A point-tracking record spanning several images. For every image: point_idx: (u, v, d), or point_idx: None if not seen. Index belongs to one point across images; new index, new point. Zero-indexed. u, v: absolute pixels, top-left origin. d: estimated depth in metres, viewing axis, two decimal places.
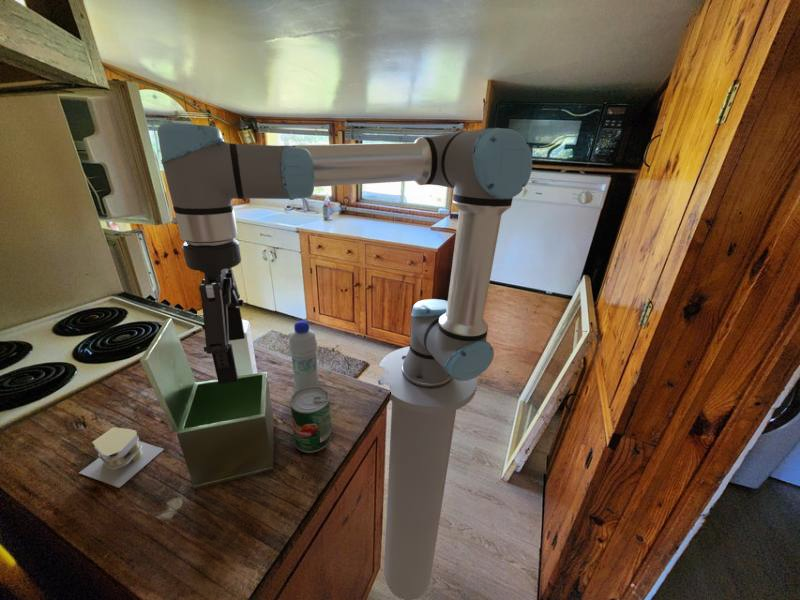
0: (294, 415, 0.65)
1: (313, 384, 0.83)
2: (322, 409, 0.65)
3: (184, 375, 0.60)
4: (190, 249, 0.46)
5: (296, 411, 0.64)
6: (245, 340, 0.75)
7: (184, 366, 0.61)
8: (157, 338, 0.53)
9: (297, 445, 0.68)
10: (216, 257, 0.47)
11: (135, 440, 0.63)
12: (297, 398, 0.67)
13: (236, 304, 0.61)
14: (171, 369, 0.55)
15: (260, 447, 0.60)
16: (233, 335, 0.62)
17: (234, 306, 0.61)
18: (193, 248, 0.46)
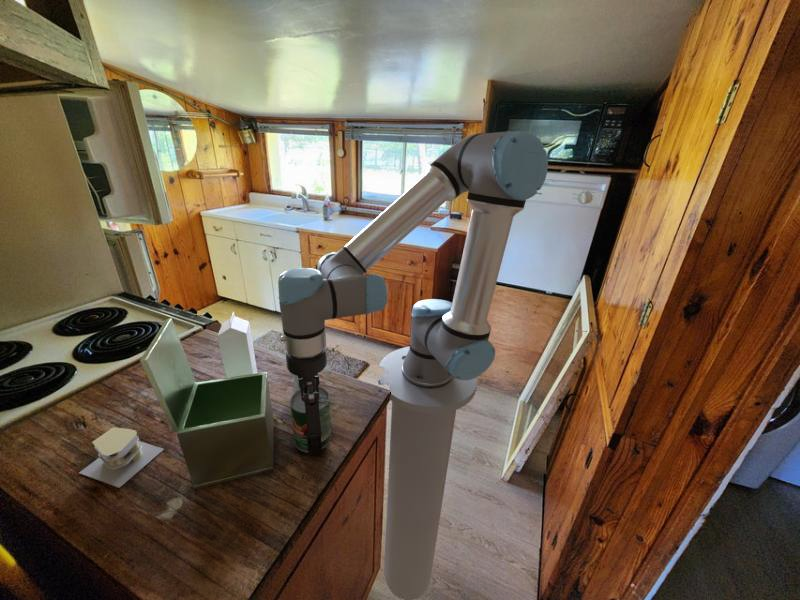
0: (294, 415, 0.65)
1: None
2: (322, 409, 0.65)
3: (184, 375, 0.60)
4: (295, 361, 0.59)
5: (296, 411, 0.64)
6: (245, 340, 0.75)
7: (184, 366, 0.61)
8: (157, 338, 0.53)
9: (297, 445, 0.68)
10: (313, 366, 0.60)
11: (135, 440, 0.63)
12: (297, 398, 0.67)
13: None
14: (171, 369, 0.55)
15: (260, 447, 0.60)
16: None
17: None
18: (297, 361, 0.59)
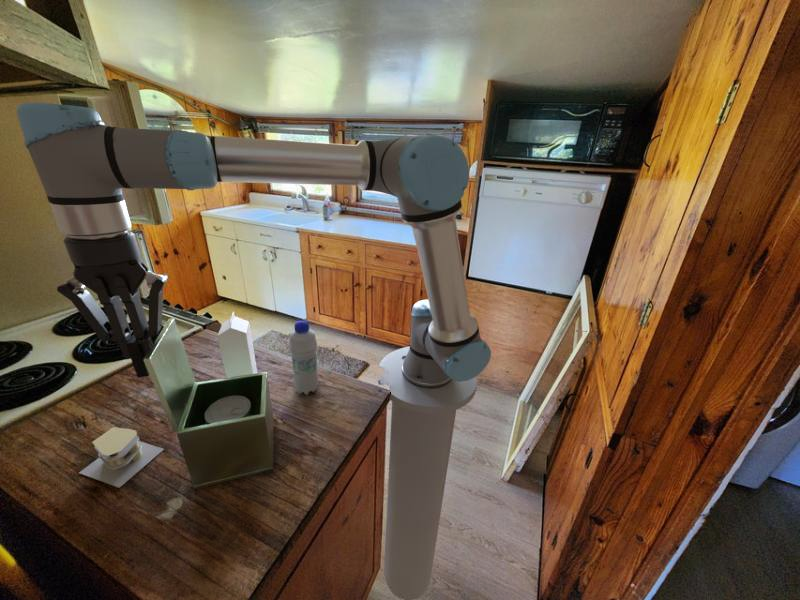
0: None
1: (313, 384, 0.83)
2: None
3: (185, 375, 0.60)
4: None
5: (207, 422, 0.59)
6: (245, 340, 0.75)
7: (185, 366, 0.61)
8: (160, 338, 0.53)
9: None
10: None
11: (135, 440, 0.63)
12: (215, 408, 0.62)
13: None
14: (173, 369, 0.55)
15: (260, 447, 0.60)
16: None
17: None
18: None
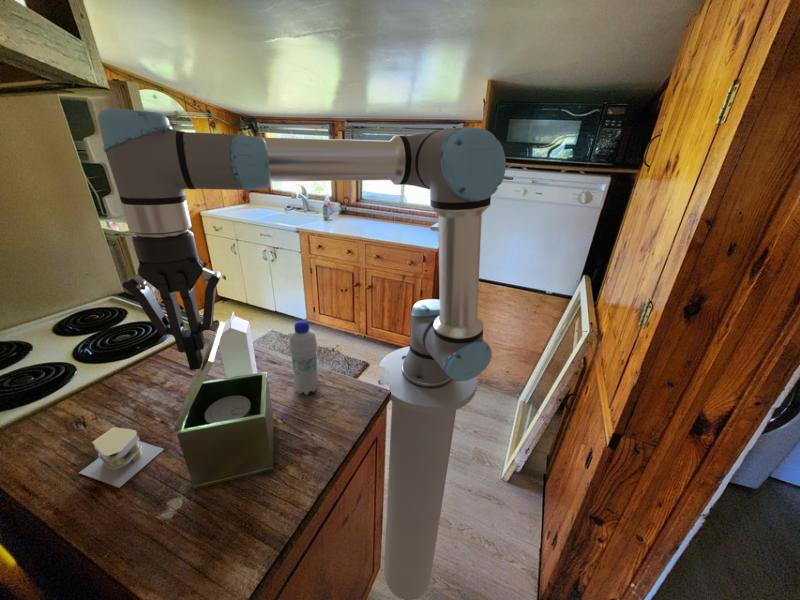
0: None
1: (313, 384, 0.83)
2: None
3: None
4: None
5: (207, 422, 0.59)
6: (245, 340, 0.75)
7: None
8: (217, 341, 0.56)
9: None
10: (134, 246, 0.46)
11: (135, 440, 0.63)
12: (215, 408, 0.62)
13: None
14: None
15: (260, 447, 0.60)
16: None
17: None
18: None
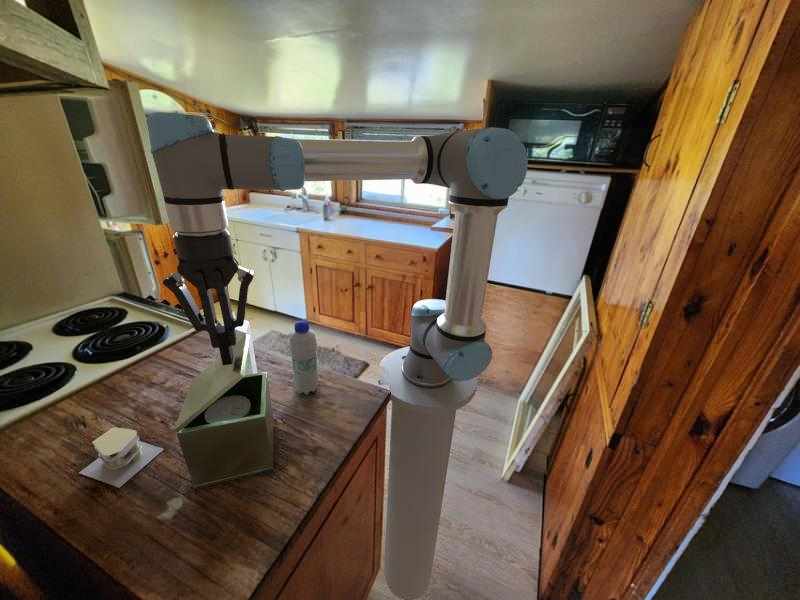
0: None
1: (313, 384, 0.83)
2: None
3: None
4: None
5: (207, 422, 0.59)
6: None
7: None
8: (246, 355, 0.59)
9: None
10: None
11: (135, 440, 0.63)
12: (215, 408, 0.62)
13: None
14: None
15: (260, 447, 0.60)
16: None
17: (224, 326, 0.55)
18: None
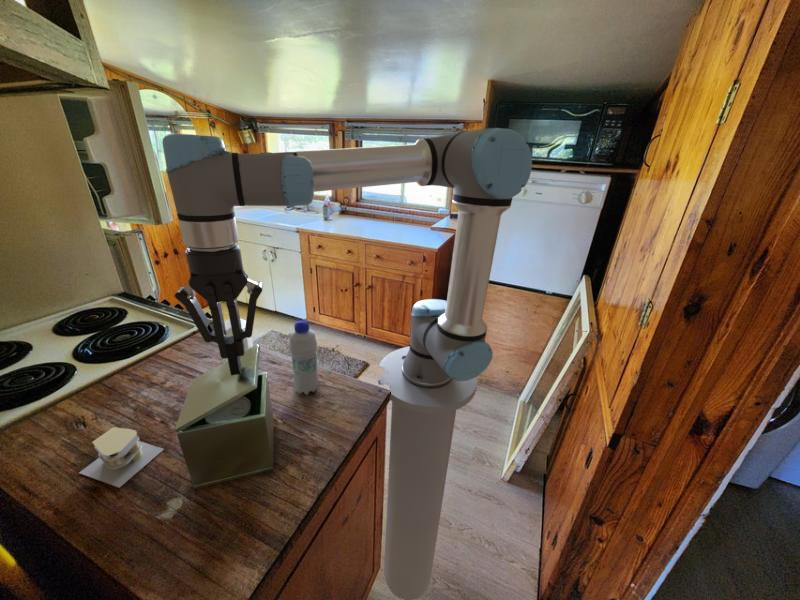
0: None
1: (313, 384, 0.83)
2: None
3: None
4: None
5: (207, 422, 0.59)
6: (245, 340, 0.75)
7: None
8: (257, 366, 0.60)
9: None
10: (187, 259, 0.49)
11: (135, 440, 0.63)
12: None
13: None
14: None
15: (260, 447, 0.60)
16: None
17: (233, 337, 0.57)
18: None
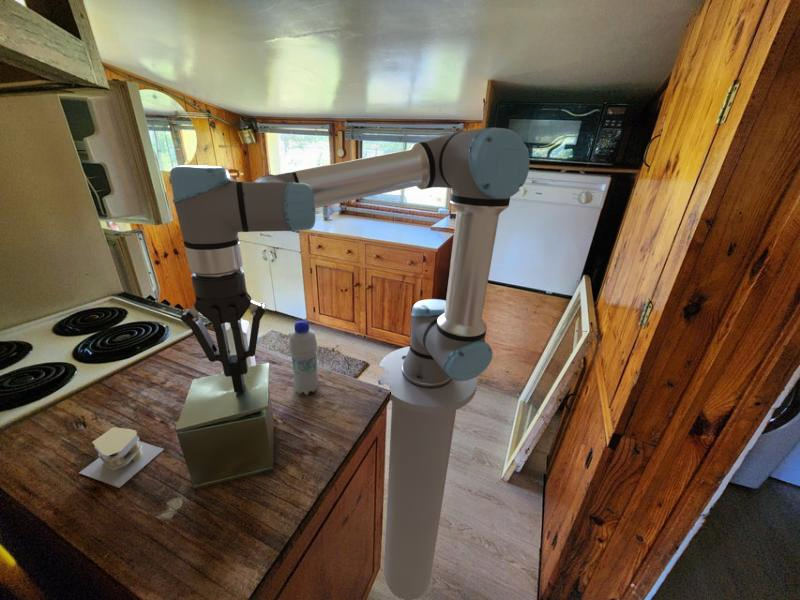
0: None
1: (313, 384, 0.83)
2: None
3: None
4: None
5: None
6: (245, 340, 0.75)
7: None
8: (268, 386, 0.63)
9: None
10: None
11: (135, 440, 0.63)
12: None
13: None
14: None
15: (260, 447, 0.60)
16: None
17: (236, 356, 0.58)
18: None
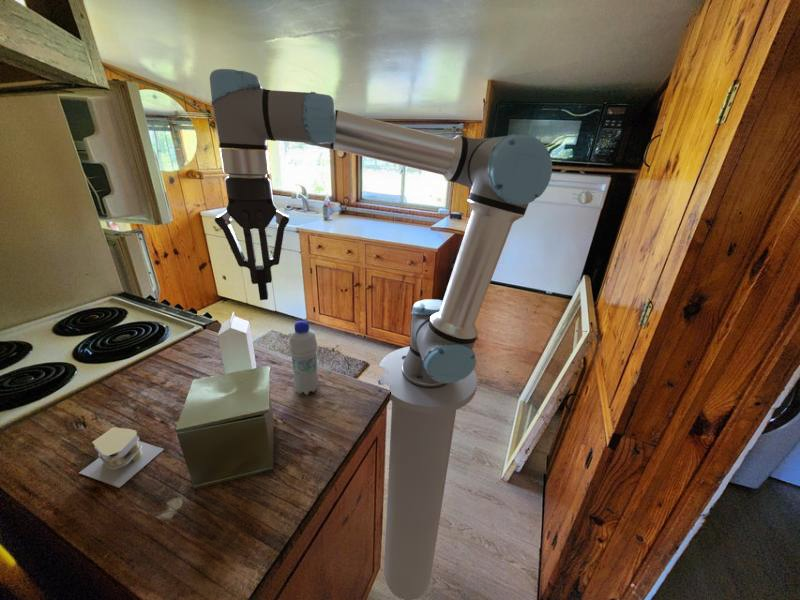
0: None
1: (313, 384, 0.83)
2: None
3: None
4: None
5: None
6: (245, 340, 0.75)
7: None
8: (269, 389, 0.63)
9: None
10: (226, 186, 0.56)
11: (135, 440, 0.63)
12: None
13: None
14: None
15: (260, 447, 0.60)
16: None
17: None
18: None
